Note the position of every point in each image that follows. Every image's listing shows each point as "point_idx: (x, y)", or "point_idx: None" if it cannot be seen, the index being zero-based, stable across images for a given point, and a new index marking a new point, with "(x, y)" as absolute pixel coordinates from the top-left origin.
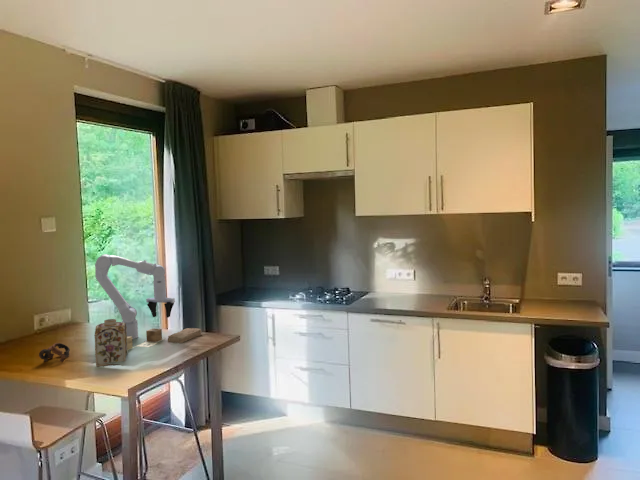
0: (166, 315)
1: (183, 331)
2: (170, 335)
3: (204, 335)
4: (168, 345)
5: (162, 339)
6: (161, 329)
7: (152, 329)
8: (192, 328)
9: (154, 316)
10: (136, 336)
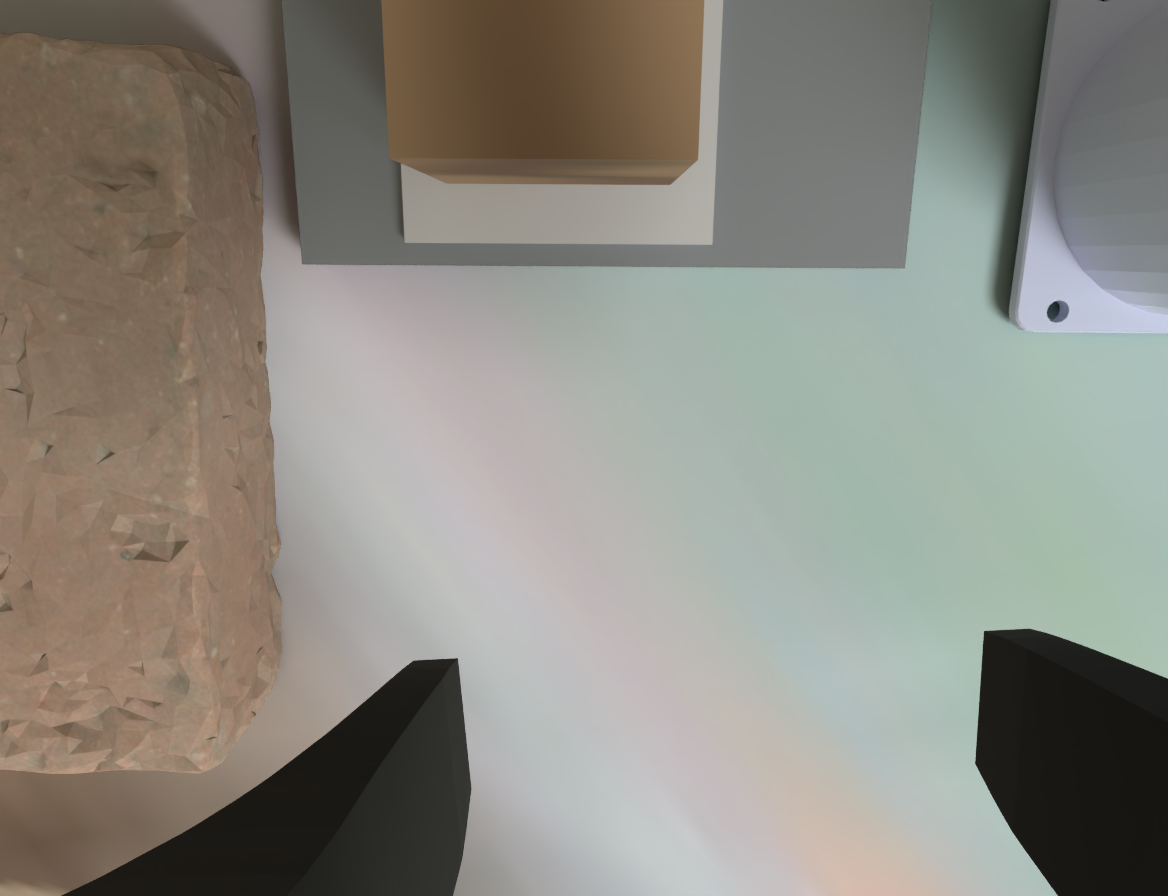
0: (433, 682)
1: (121, 537)
2: (131, 108)
3: (30, 772)
4: (189, 10)
5: None
6: (390, 146)
7: (619, 22)
8: (70, 756)
9: (992, 672)
10: (1096, 147)
